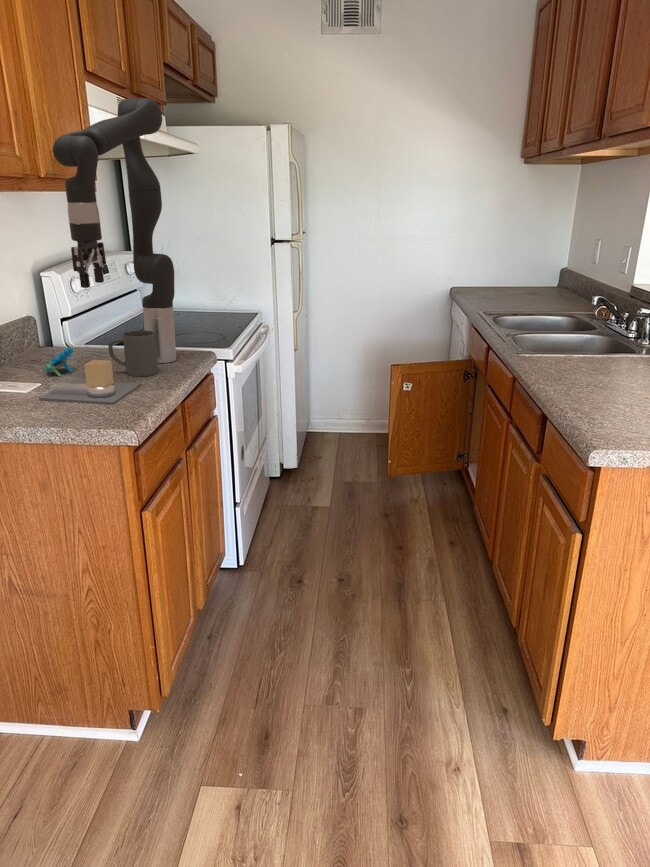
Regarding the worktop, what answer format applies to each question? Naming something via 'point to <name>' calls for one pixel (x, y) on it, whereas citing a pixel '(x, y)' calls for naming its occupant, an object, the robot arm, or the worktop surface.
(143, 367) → the mug
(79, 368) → the worktop surface
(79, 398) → the mat
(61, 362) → the blue toy piece
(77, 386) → the ratchet
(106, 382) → the wooden toy cube
